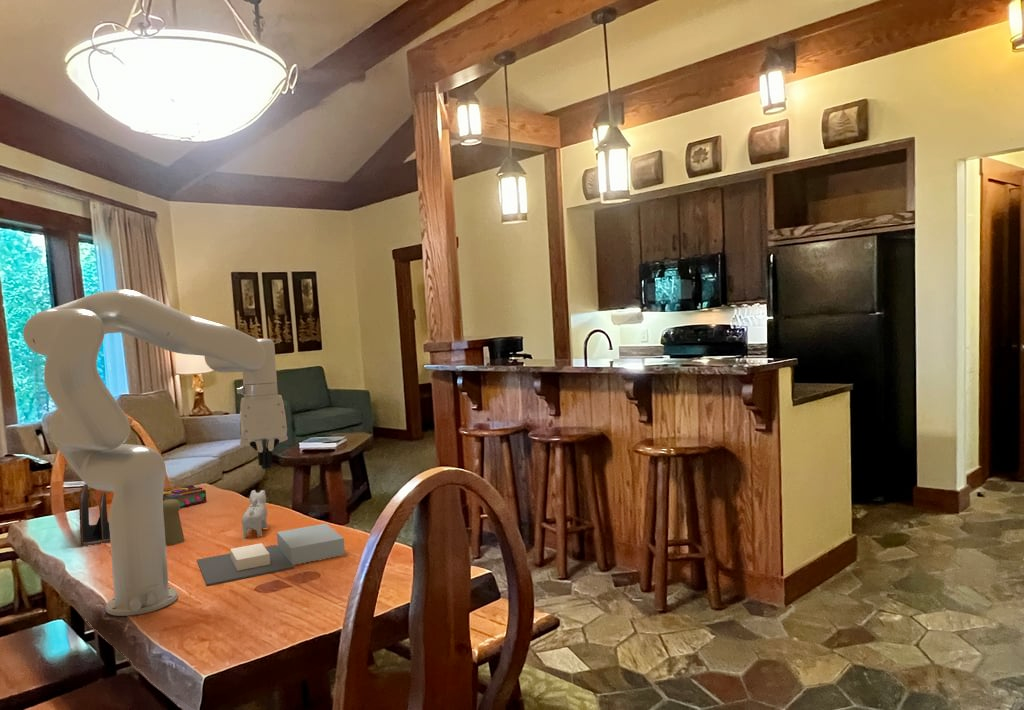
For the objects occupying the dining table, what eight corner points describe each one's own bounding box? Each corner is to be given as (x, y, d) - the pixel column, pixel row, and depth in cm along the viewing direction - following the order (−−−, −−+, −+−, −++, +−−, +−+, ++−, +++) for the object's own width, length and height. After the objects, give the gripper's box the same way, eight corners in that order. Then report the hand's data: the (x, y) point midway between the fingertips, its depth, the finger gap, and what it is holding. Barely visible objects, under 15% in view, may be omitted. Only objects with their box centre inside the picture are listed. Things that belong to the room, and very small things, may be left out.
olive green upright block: (156, 546, 179) (153, 504, 179) (161, 540, 185) (158, 498, 185) (182, 543, 181) (179, 501, 180) (186, 537, 187) (183, 496, 186)
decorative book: (188, 497, 237) (187, 482, 237) (209, 503, 226) (208, 488, 226) (152, 504, 229) (151, 489, 228) (172, 511, 218) (171, 495, 217)
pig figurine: (271, 524, 195) (269, 486, 195) (262, 537, 183) (259, 497, 182) (251, 526, 195) (249, 488, 194) (241, 539, 182) (238, 498, 182)
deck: (344, 555, 165) (343, 538, 165) (292, 565, 159) (291, 548, 159) (326, 539, 179) (325, 523, 178) (277, 548, 173) (276, 532, 173)
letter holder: (80, 548, 182) (76, 494, 182) (86, 530, 200) (83, 481, 199) (124, 541, 187) (120, 488, 186) (126, 524, 205) (123, 476, 204)
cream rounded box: (236, 560, 156) (237, 570, 156) (269, 553, 159) (270, 564, 159) (230, 548, 165) (231, 559, 165) (261, 543, 168) (262, 553, 168)
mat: (294, 568, 157) (294, 566, 157) (206, 586, 148) (206, 584, 148) (276, 546, 174) (276, 544, 174) (197, 561, 166) (196, 559, 166)
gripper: (228, 394, 160) (234, 475, 161) (296, 388, 167) (301, 465, 168) (225, 392, 167) (230, 469, 167) (290, 387, 174) (295, 461, 174)
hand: (266, 467), depth 168 cm, fingers closed
